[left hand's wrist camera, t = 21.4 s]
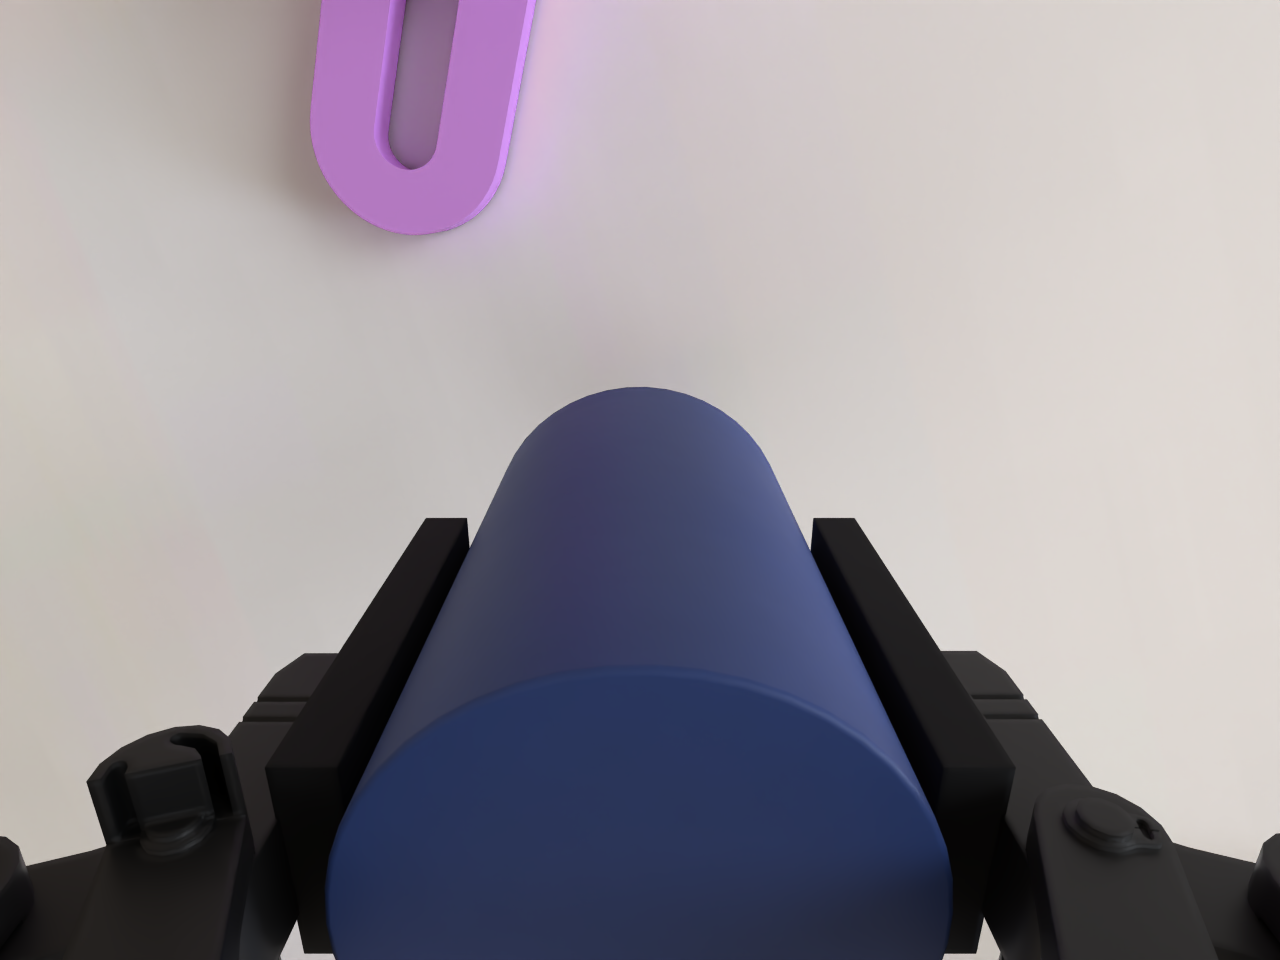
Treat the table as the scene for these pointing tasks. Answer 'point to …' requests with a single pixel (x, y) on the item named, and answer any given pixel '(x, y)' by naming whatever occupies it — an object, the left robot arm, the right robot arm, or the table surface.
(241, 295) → the table surface
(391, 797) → the can
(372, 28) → the bracket
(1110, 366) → the table surface
